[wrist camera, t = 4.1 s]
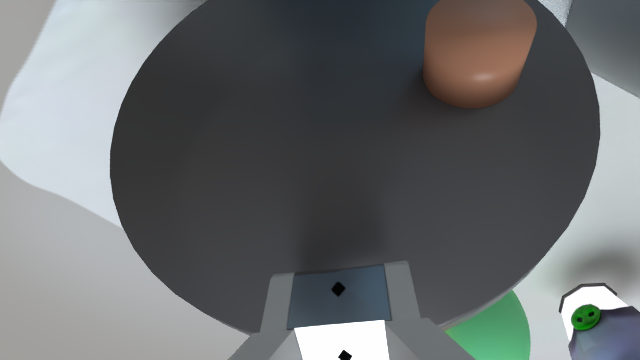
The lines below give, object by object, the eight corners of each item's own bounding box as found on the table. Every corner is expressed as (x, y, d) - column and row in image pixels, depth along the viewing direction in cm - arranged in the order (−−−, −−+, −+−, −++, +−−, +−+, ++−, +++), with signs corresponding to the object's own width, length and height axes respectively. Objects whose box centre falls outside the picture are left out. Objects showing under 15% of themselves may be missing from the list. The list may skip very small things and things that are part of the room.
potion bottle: (573, 261, 40) (656, 375, 30) (652, 282, 41) (760, 399, 31) (526, 321, 44) (584, 439, 34) (599, 339, 45) (677, 459, 35)
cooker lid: (173, -6, 22) (132, -82, 19) (490, -65, 20) (509, -163, 17) (99, 374, 13) (-7, 357, 9) (669, 328, 11) (786, 287, 8)
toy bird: (420, 362, 48) (450, 514, 35) (289, 307, 44) (270, 455, 32) (533, 257, 40) (624, 407, 27) (383, 180, 36) (408, 311, 24)
